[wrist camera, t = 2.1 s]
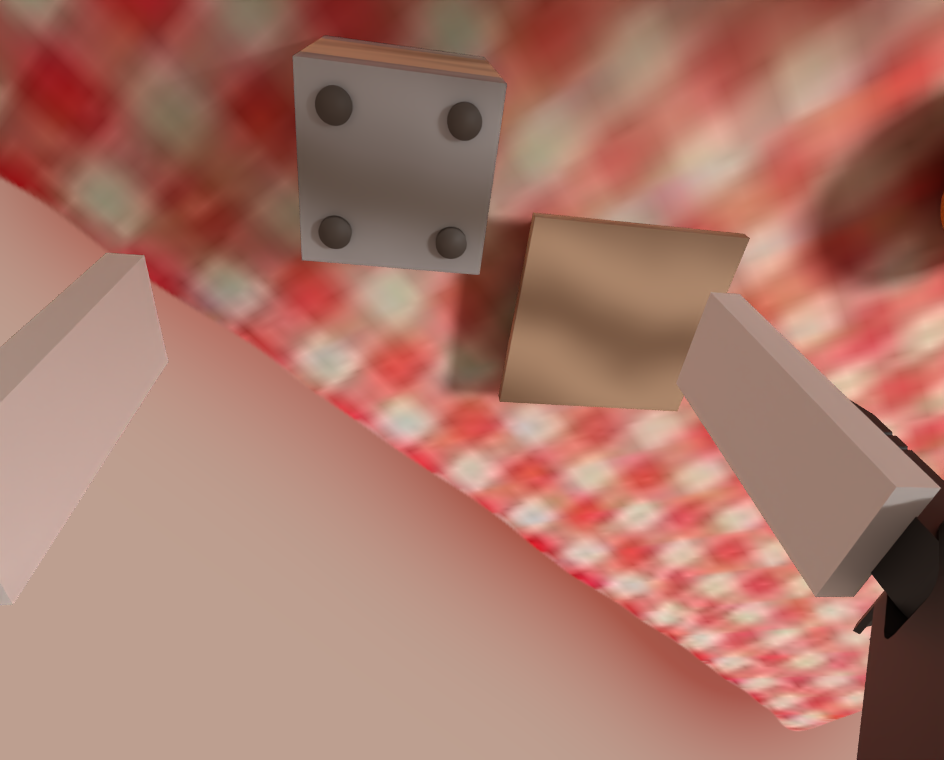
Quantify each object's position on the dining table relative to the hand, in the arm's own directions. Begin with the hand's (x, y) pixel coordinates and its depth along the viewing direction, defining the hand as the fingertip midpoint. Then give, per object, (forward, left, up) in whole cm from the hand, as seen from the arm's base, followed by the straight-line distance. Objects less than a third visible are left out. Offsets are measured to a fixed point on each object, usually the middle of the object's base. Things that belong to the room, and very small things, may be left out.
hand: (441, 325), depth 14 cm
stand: (+7, +11, -17) cm, 22 cm away
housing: (-1, -1, -17) cm, 17 cm away
